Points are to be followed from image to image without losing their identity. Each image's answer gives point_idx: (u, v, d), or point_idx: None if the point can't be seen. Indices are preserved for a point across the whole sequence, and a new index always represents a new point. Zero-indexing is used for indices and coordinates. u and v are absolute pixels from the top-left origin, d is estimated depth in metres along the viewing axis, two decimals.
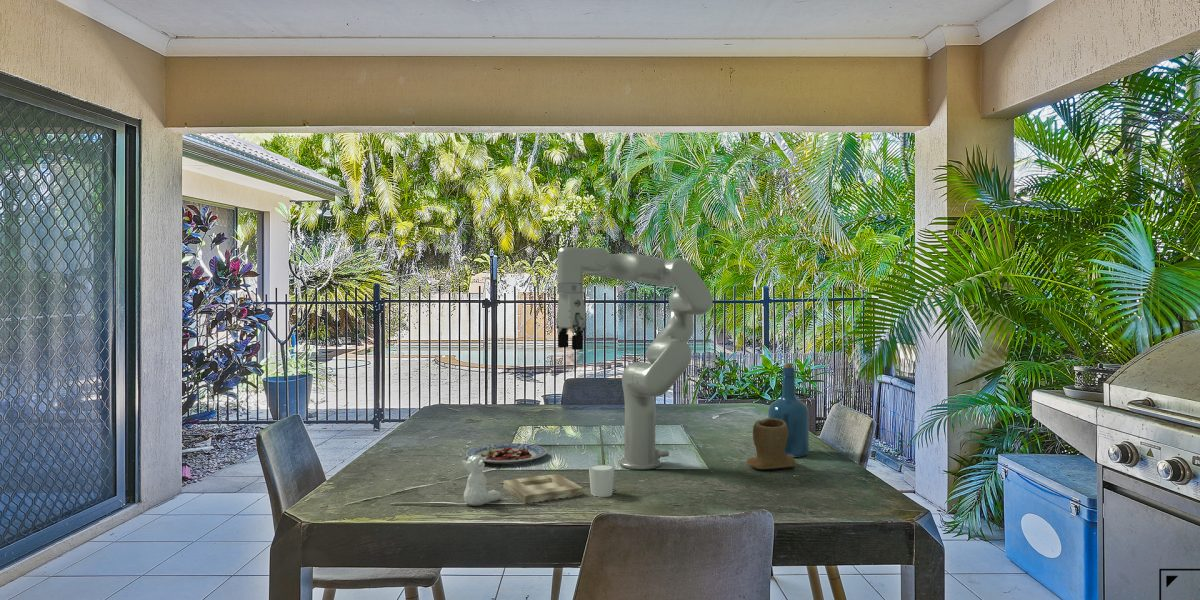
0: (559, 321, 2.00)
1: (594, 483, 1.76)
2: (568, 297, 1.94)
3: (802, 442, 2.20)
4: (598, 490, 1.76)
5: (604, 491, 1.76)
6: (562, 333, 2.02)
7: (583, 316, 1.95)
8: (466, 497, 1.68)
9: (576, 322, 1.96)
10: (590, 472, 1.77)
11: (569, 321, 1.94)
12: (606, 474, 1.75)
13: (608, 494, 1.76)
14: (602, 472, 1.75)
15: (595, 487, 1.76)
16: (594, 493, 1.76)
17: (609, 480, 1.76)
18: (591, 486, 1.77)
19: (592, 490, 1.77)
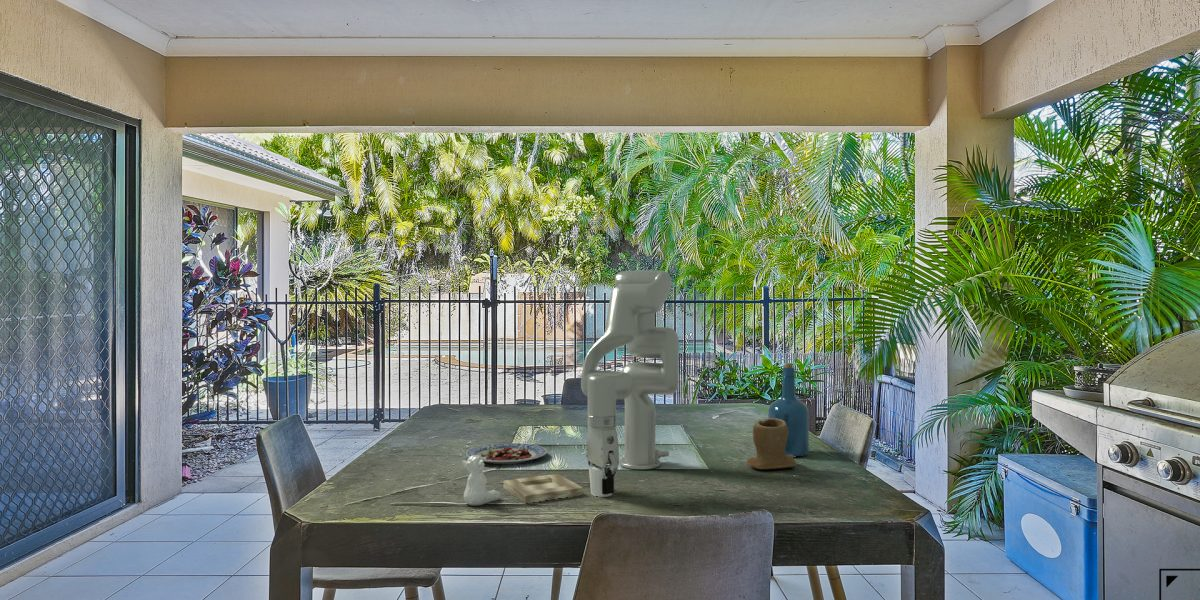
0: (589, 456, 1.80)
1: (594, 483, 1.76)
2: (600, 433, 1.74)
3: (802, 442, 2.20)
4: (598, 490, 1.76)
5: None
6: None
7: (617, 454, 1.75)
8: (466, 497, 1.68)
9: (608, 461, 1.76)
10: (590, 472, 1.77)
11: (601, 460, 1.74)
12: None
13: (608, 494, 1.76)
14: (602, 472, 1.75)
15: (595, 487, 1.76)
16: (594, 493, 1.76)
17: None
18: (591, 486, 1.77)
19: (592, 490, 1.77)
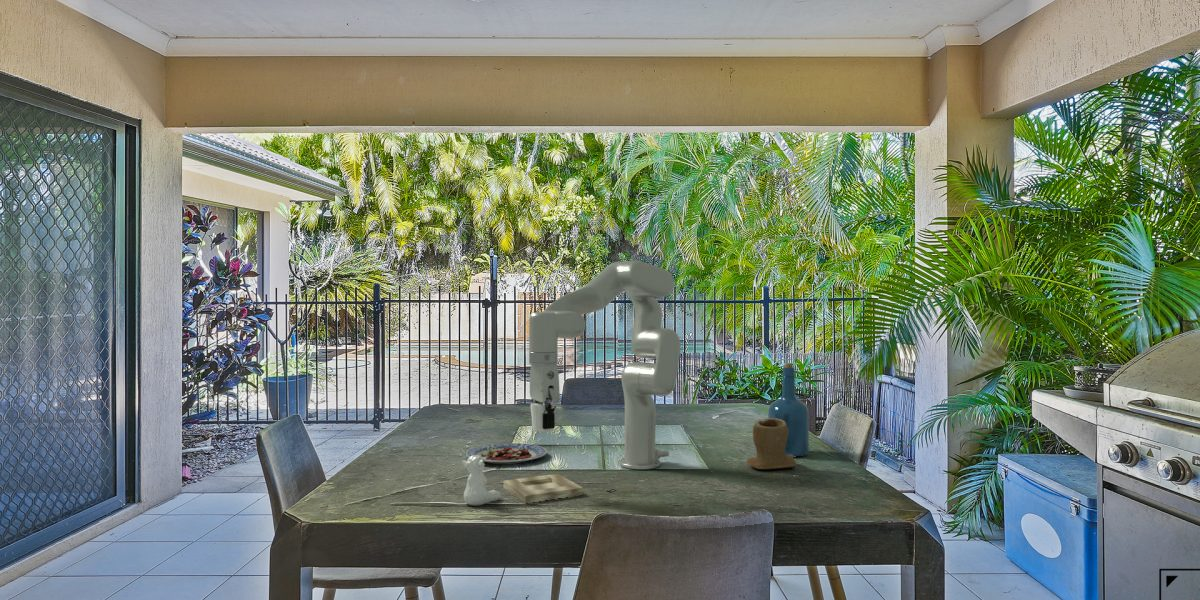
0: (531, 392, 1.82)
1: (535, 418, 1.78)
2: (541, 369, 1.76)
3: (802, 442, 2.20)
4: (539, 425, 1.77)
5: None
6: None
7: (557, 389, 1.77)
8: (466, 497, 1.68)
9: (549, 396, 1.78)
10: (531, 408, 1.79)
11: (542, 395, 1.76)
12: None
13: (549, 429, 1.78)
14: None
15: (536, 422, 1.78)
16: (535, 428, 1.78)
17: None
18: (532, 422, 1.79)
19: (533, 425, 1.79)
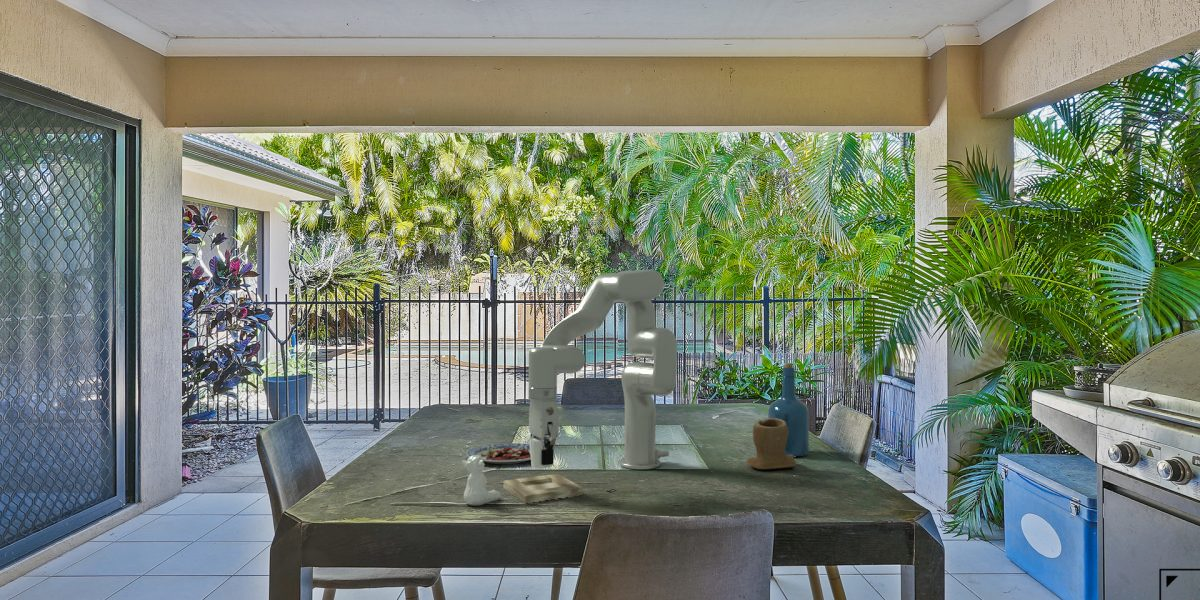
0: (530, 427, 1.82)
1: (534, 454, 1.78)
2: (540, 405, 1.76)
3: (802, 442, 2.20)
4: (538, 461, 1.77)
5: None
6: None
7: (556, 425, 1.77)
8: (466, 497, 1.68)
9: (548, 432, 1.78)
10: (530, 443, 1.79)
11: (541, 431, 1.76)
12: None
13: (548, 465, 1.78)
14: (541, 443, 1.77)
15: (535, 458, 1.78)
16: (534, 464, 1.78)
17: None
18: (531, 457, 1.79)
19: (532, 461, 1.79)
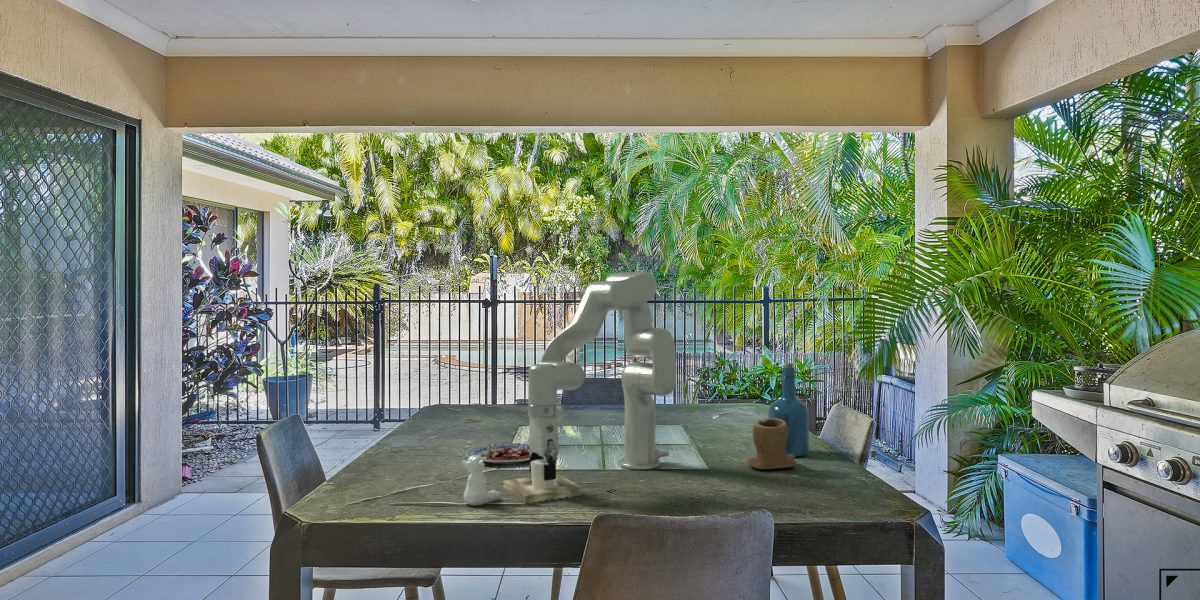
0: (530, 444, 1.82)
1: (535, 477, 1.78)
2: (540, 422, 1.76)
3: (802, 442, 2.20)
4: (540, 484, 1.77)
5: (545, 485, 1.77)
6: (534, 456, 1.84)
7: (556, 442, 1.77)
8: (466, 497, 1.68)
9: (549, 448, 1.78)
10: (532, 466, 1.79)
11: (541, 448, 1.76)
12: None
13: None
14: (543, 466, 1.77)
15: (536, 481, 1.78)
16: (535, 487, 1.78)
17: None
18: (533, 480, 1.79)
19: (533, 484, 1.79)
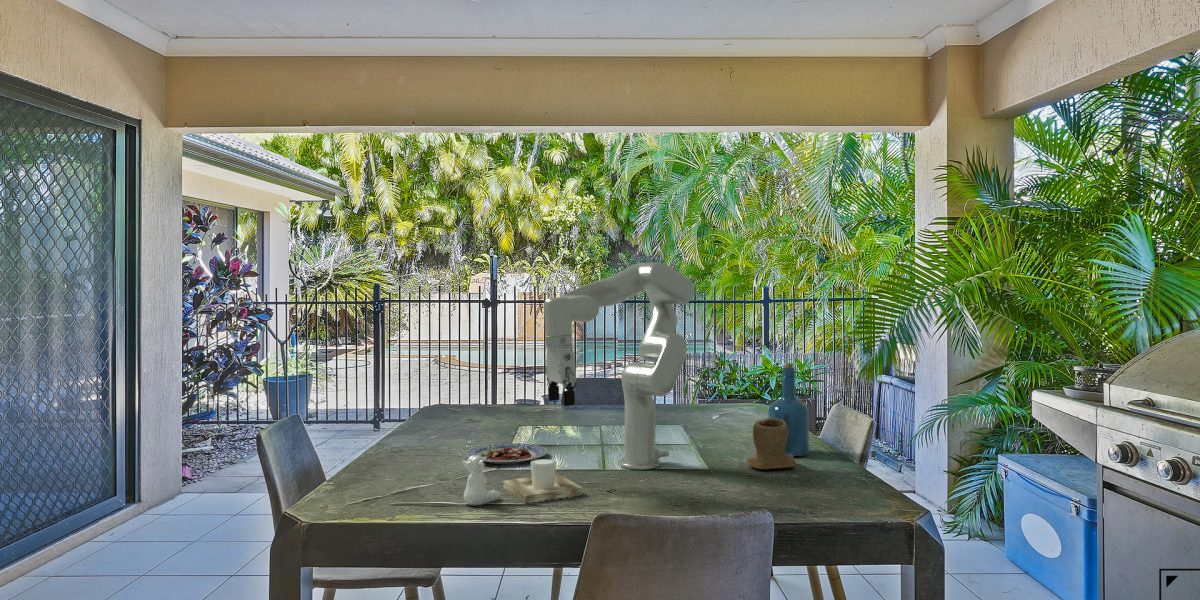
0: (549, 374, 1.91)
1: (535, 477, 1.78)
2: (557, 351, 1.85)
3: (802, 442, 2.20)
4: (540, 484, 1.77)
5: (545, 485, 1.77)
6: (552, 386, 1.93)
7: (574, 370, 1.86)
8: (466, 497, 1.68)
9: (567, 376, 1.87)
10: (532, 466, 1.79)
11: (559, 376, 1.85)
12: (547, 468, 1.77)
13: None
14: (543, 466, 1.77)
15: (536, 481, 1.78)
16: (535, 487, 1.78)
17: (550, 474, 1.78)
18: (533, 480, 1.79)
19: (533, 484, 1.79)
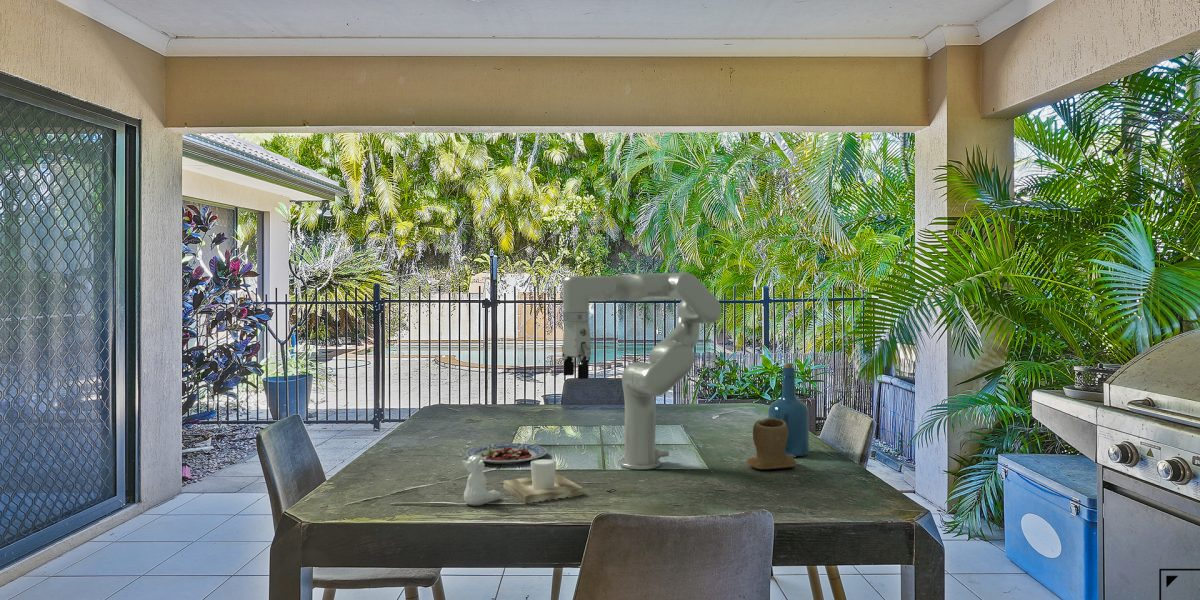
0: (565, 349, 2.01)
1: (535, 477, 1.78)
2: (574, 327, 1.95)
3: (802, 442, 2.20)
4: (540, 484, 1.77)
5: (545, 485, 1.77)
6: (568, 361, 2.03)
7: (589, 345, 1.96)
8: (466, 497, 1.68)
9: (582, 351, 1.97)
10: (532, 466, 1.79)
11: (575, 350, 1.95)
12: (547, 468, 1.77)
13: None
14: (543, 466, 1.77)
15: (536, 481, 1.78)
16: (535, 487, 1.78)
17: (550, 474, 1.78)
18: (533, 480, 1.79)
19: (533, 484, 1.79)
